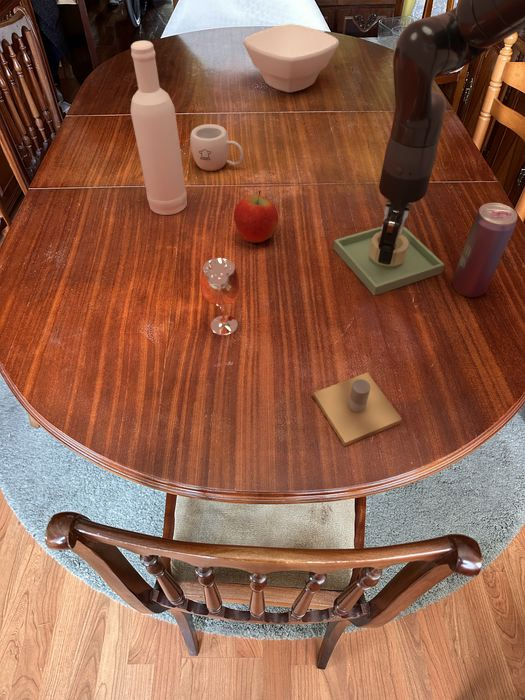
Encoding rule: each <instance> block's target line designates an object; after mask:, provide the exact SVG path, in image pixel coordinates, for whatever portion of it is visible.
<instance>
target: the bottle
mask: <svg viewBox="0 0 525 700" xmlns="http://www.w3.org/2000/svg"><path fill="white" fill-rule="evenodd" d="M154 47H155V46H154V44H153V43H152V42H151V41H150V40H137V41H134V42H133V43H132V44H131V45H130V49H131V52H130V54H131V58H132V60H133V67H134V71H135V77H136V84H137V88H138V89H137V90H136V92H135V93H134V95H133V96H132V98H131V104H130V115H131V121H132V125H133V131H134V135H135V140H136V145H137V150H138V155H139V162H140V165H141V171H142V176H143V181H144V185H145V191H146V199H147V202H148V205H149V208H150V209H149V210H151V211H152V212H153V213H155V214H158V215H161V216H171V215H172V216H173V215H175V214H178V213H180V212H183V210H185V208H186V207H187V206H188V205H187V204H188V198H187V197H188V194H187V189H186V184H185V177H184V168H183V161H182V154H181V153H182V152H181V145H180V138H179V130H178V123H177V115H176V108H175V105H174V103H173V101H172V99H171V97H170V95H169V93H168V92H166V90H164V89H163V88H161V86H160V81H159V74H158V67H157V60H156V51H155V48H154Z"/></svg>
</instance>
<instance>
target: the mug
mask: <svg viewBox="0 0 525 700" xmlns="http://www.w3.org/2000/svg"><path fill="white" fill-rule="evenodd" d="M189 142H190V151H191V155H192V157H193V160H194V162H195V164H196V165H197V166H198V168H200V169H201V170H203V171H207V172H215V171H219V170H221V169H222V168H224V167H225V165H226V164H228V165H231V166H233V167H237V166H240V165H241V164H243V161H244V150H243V148H242V146H241V144H240V143H238V141H235V140H230V139H229V134H228V131H227V130H226V128H225V127H223V126H222V125H220V124H214V123H213V124H212V123H206V124H200V125H198V126H196V127H194V128H193V129H192V130H191V133H190V138H189ZM230 145H234V146H235V147H236V148H237V149H238V151H239V160H238V161H237V162H234V161H231V160H230V159H229V153H230Z"/></svg>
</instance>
